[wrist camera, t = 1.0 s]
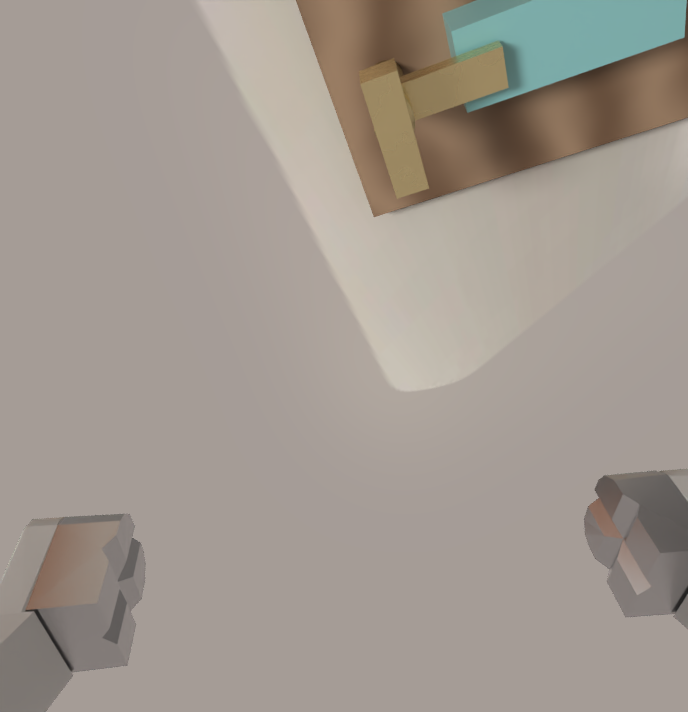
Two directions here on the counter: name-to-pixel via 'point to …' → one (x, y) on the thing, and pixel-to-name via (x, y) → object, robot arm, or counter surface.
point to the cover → (560, 36)
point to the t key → (424, 104)
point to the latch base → (488, 124)
